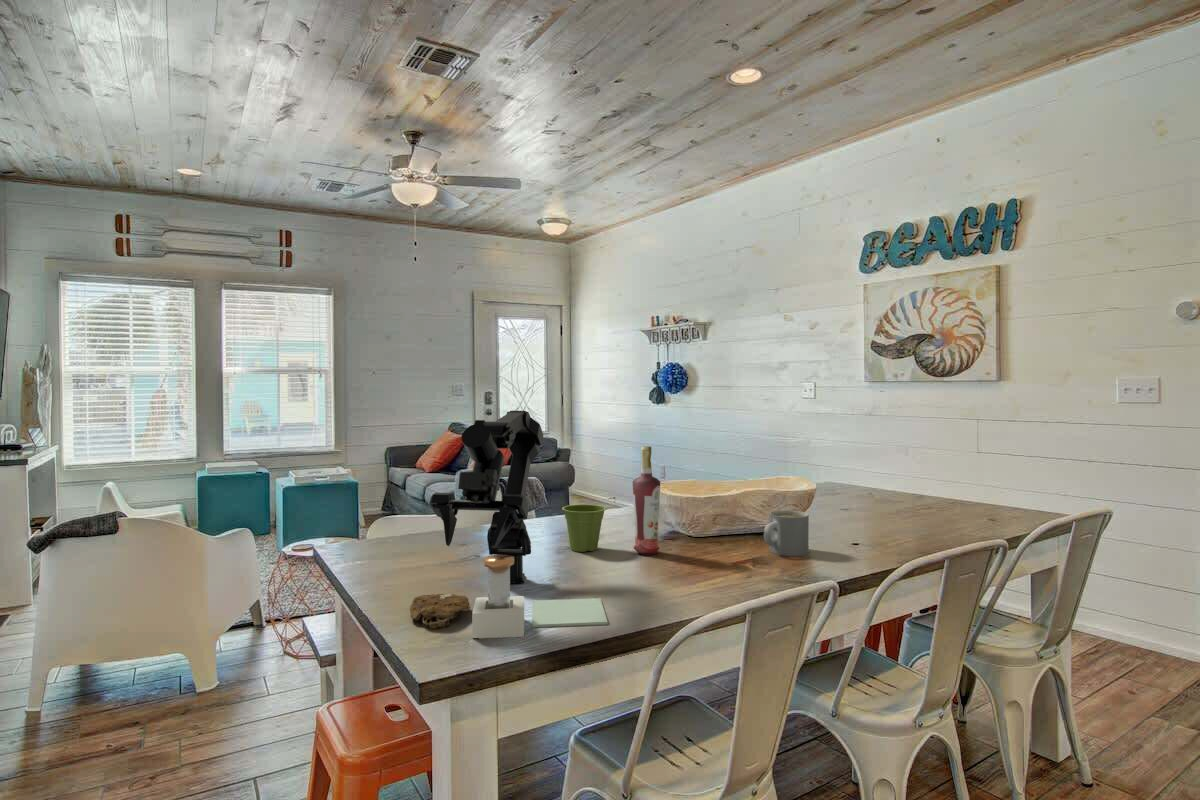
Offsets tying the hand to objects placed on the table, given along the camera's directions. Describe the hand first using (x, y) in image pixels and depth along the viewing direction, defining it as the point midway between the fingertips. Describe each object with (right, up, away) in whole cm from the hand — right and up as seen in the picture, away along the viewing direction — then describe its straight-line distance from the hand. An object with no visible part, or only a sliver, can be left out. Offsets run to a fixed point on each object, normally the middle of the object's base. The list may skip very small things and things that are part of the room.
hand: (470, 545), depth 132 cm
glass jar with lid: (+6, -14, -5) cm, 16 cm away
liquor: (+37, -13, +51) cm, 64 cm away
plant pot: (+20, -13, +55) cm, 60 cm away
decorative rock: (-6, -15, +2) cm, 16 cm away
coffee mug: (+73, -13, +51) cm, 90 cm away
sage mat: (+18, -14, +4) cm, 23 cm away
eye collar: (+6, -14, -5) cm, 16 cm away
